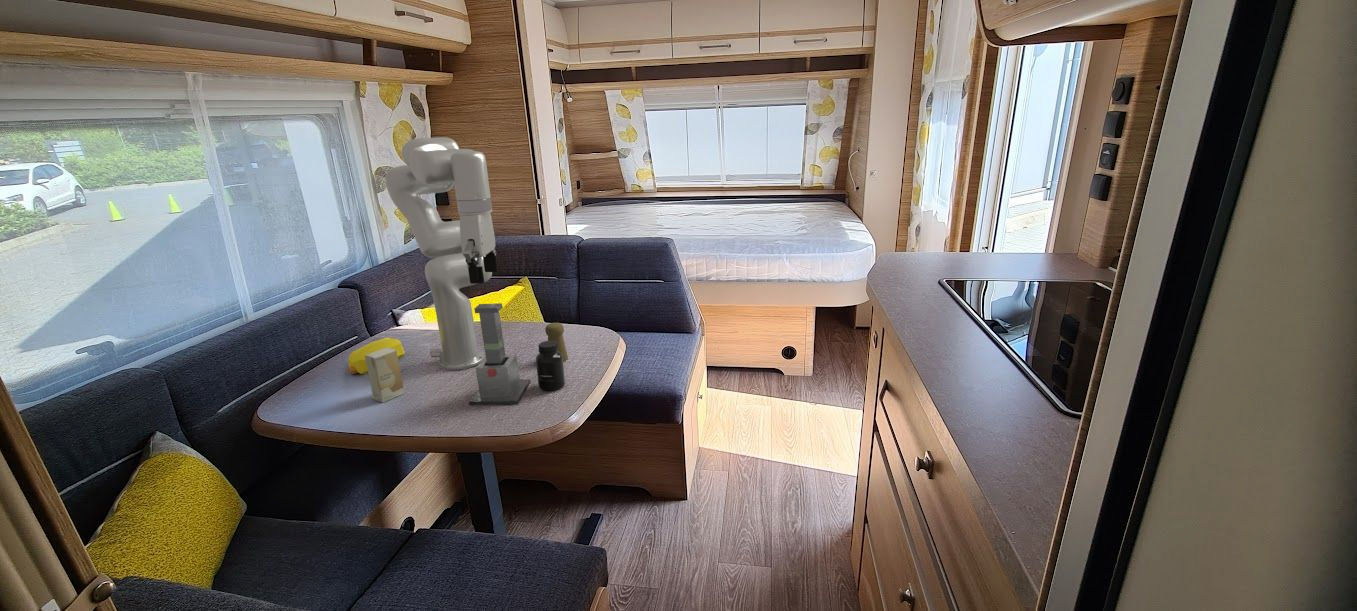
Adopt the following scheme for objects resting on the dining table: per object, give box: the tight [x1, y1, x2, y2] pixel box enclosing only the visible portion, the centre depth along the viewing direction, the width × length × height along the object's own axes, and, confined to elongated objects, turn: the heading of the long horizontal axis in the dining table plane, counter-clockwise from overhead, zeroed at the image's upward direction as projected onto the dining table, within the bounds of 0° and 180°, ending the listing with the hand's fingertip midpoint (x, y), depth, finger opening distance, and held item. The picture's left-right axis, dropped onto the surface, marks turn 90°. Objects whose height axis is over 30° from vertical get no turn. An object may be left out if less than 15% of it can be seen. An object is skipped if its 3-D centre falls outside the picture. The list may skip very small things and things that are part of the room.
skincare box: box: [365, 348, 405, 403], centre depth 145 cm, size 6×4×12 cm
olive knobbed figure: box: [544, 322, 569, 363], centre depth 164 cm, size 6×6×11 cm
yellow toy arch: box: [348, 336, 406, 375], centre depth 166 cm, size 18×7×8 cm
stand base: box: [468, 354, 531, 406], centre depth 145 cm, size 12×12×9 cm
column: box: [473, 302, 506, 366], centre depth 141 cm, size 6×4×17 cm, turn 89°
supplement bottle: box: [535, 340, 566, 393], centre depth 147 cm, size 7×7×12 cm
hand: (484, 277), depth 138 cm, fingers open, 9 cm apart
